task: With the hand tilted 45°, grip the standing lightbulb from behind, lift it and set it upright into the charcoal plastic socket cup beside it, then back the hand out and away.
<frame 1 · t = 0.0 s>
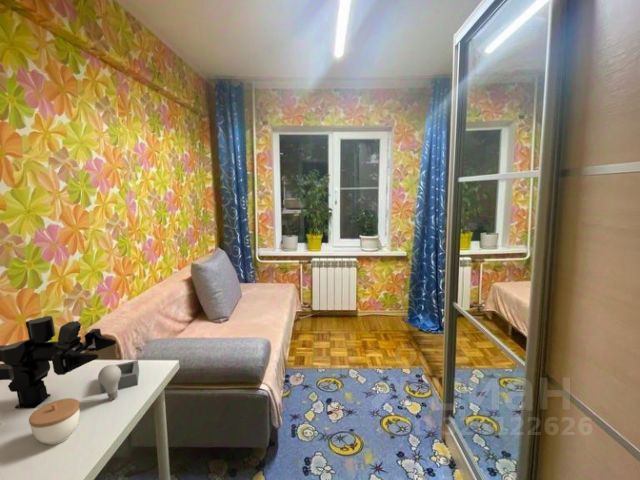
hand: (107, 348, 109), 17 cm above the table, tool horizontal, fingers open, 9 cm apart
lidded jar: (59, 437, 96), on the table
lightbulb: (113, 399, 112), on the table
socket: (121, 381, 122), on the table
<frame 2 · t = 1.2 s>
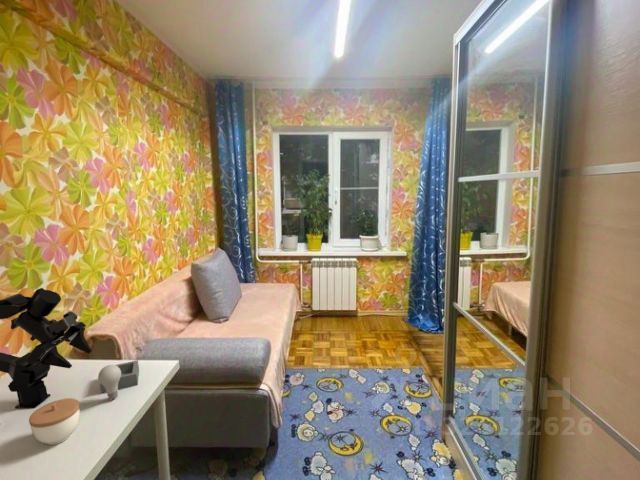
hand: (81, 359, 110), 14 cm above the table, tool tilted 45°, fingers open, 9 cm apart
nothing on the table moved.
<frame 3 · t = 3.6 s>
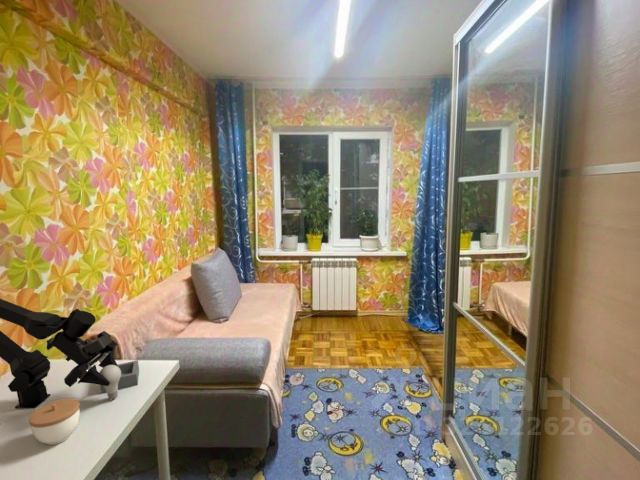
hand: (115, 379, 111), 7 cm above the table, tool tilted 45°, fingers closed on lightbulb, 6 cm apart
lightbulb: (113, 399, 112), on the table, touching gripper
everything else where it was.
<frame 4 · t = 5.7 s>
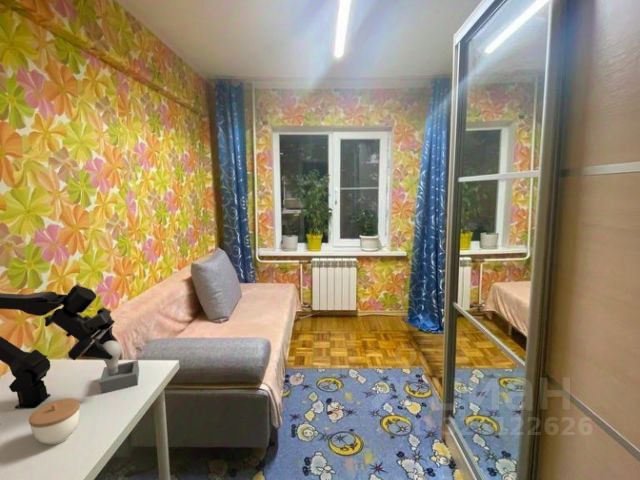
hand: (116, 353, 113), 13 cm above the table, tool tilted 45°, fingers closed on lightbulb, 6 cm apart
lightbulb: (113, 374, 114), point 6 cm above the table, touching gripper
everything else where it was.
when the fingers open (9 cm above the table, at t = 7.8 s): lightbulb drops 1 cm, resting on socket.
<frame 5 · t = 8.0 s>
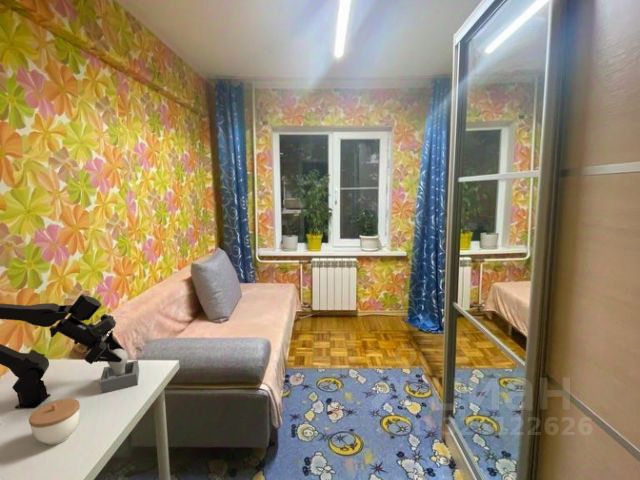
hand: (122, 355, 121), 9 cm above the table, tool tilted 45°, fingers open, 8 cm apart
lightbulb: (120, 380, 121), point 1 cm above the table, touching socket
everything else where it was.
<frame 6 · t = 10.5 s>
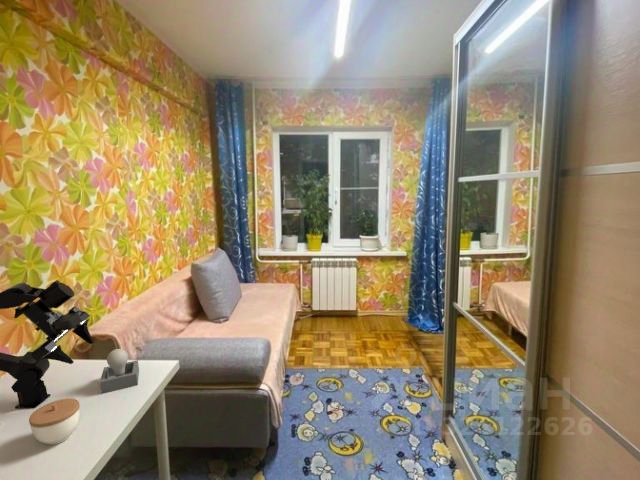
hand: (82, 352, 114), 13 cm above the table, tool tilted 35°, fingers open, 9 cm apart
nothing on the table moved.
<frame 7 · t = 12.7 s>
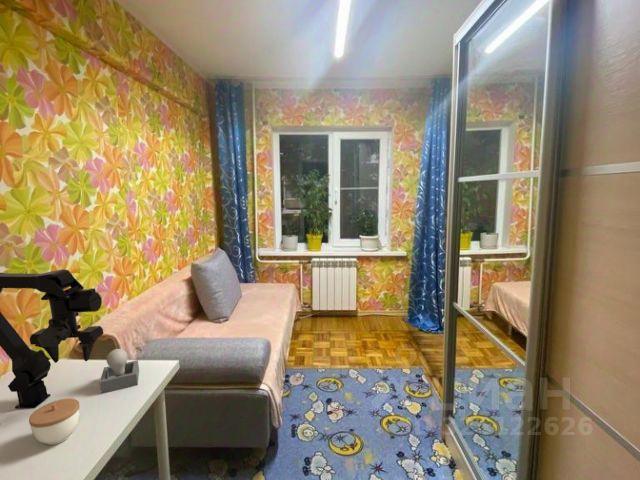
hand: (71, 361, 110), 13 cm above the table, tool pointing down, fingers open, 9 cm apart
nothing on the table moved.
at the end: lightbulb 0.8 cm off-centre on the socket, point 0.6 cm above the socket's base; lightbulb tilted 0°; the gripper is holding nothing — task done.
